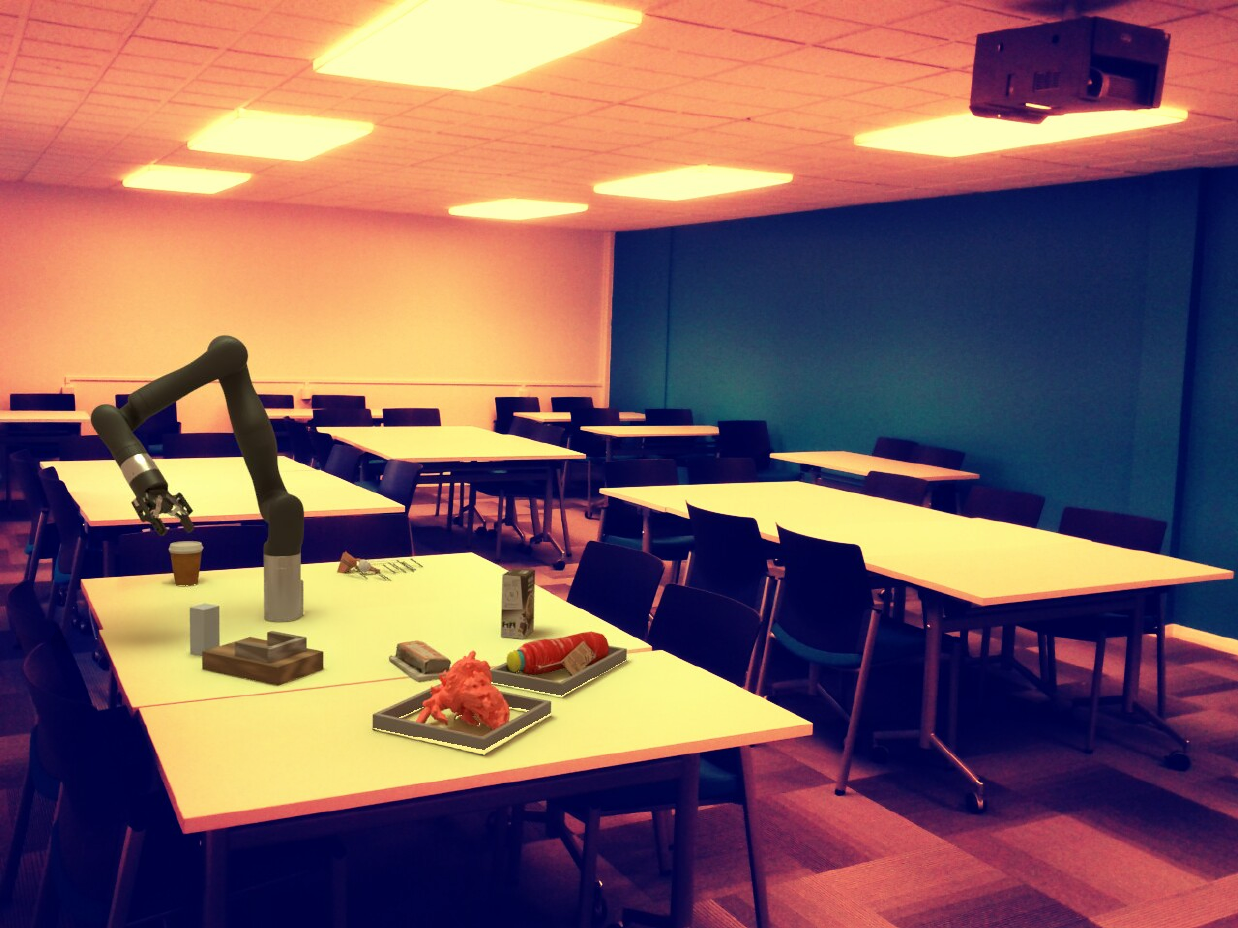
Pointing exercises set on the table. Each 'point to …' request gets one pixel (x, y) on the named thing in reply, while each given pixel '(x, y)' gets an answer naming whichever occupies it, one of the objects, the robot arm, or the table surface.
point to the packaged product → (420, 661)
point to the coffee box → (517, 603)
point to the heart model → (467, 695)
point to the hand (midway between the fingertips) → (178, 532)
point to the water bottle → (559, 654)
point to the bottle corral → (560, 688)
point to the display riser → (265, 658)
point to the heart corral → (393, 723)
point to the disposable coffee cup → (186, 561)
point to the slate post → (204, 628)
